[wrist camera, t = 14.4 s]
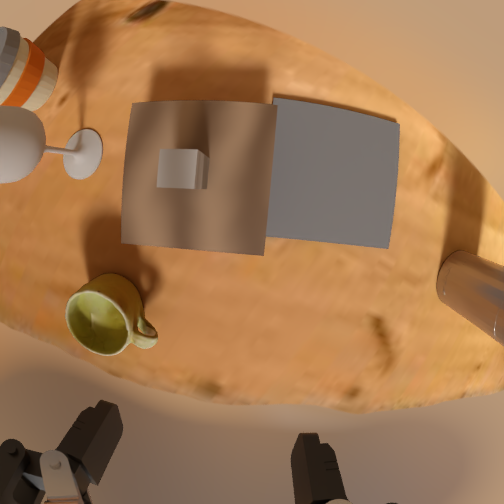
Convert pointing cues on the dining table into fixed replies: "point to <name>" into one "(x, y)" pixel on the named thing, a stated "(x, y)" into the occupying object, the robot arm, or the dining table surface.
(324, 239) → the mat
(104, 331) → the mug
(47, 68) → the reusable coffee cup
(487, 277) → the robot arm
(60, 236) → the dining table surface
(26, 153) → the wineglass
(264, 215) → the lid
